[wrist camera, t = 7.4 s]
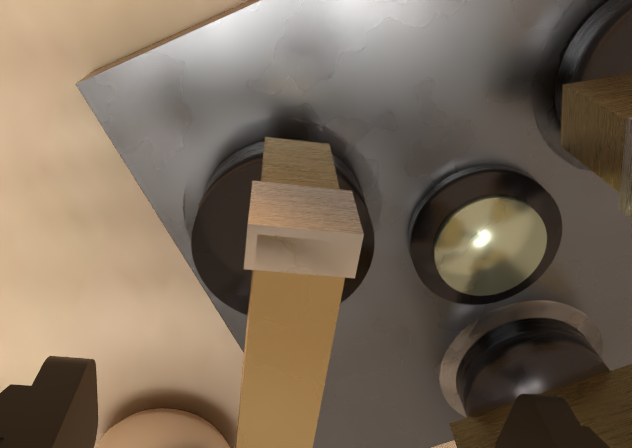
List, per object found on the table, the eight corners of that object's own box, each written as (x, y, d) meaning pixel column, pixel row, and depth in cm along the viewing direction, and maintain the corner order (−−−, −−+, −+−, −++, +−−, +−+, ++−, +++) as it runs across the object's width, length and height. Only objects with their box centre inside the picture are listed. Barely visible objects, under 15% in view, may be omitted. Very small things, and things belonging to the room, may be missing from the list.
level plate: (743, 323, 24) (793, 365, 22) (325, 459, 27) (329, 510, 25) (725, -216, 15) (807, -242, 13) (90, 72, 18) (61, 94, 15)
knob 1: (348, 307, 21) (379, 486, 14) (195, 296, 20) (154, 478, 13) (385, 122, 17) (450, 242, 11) (204, 101, 17) (154, 215, 10)
